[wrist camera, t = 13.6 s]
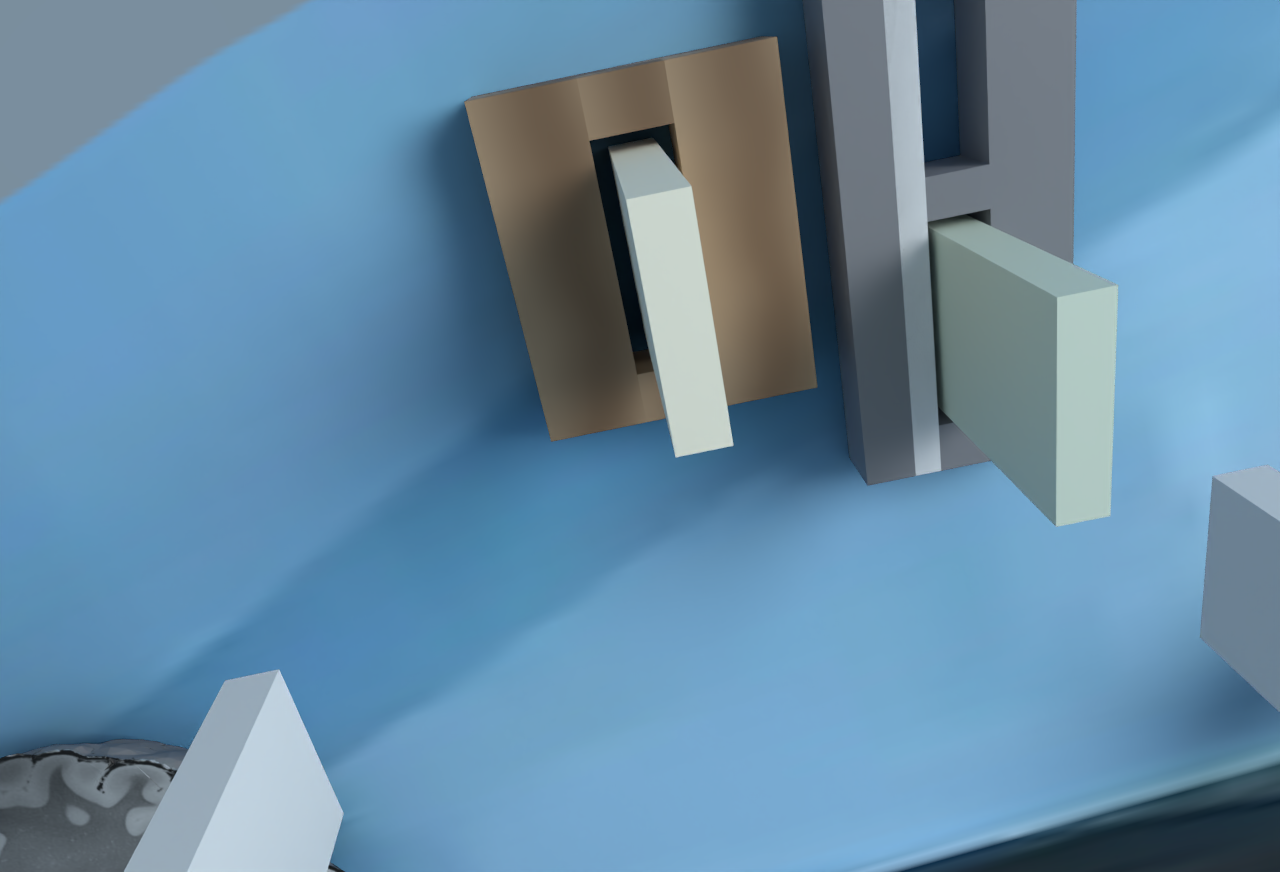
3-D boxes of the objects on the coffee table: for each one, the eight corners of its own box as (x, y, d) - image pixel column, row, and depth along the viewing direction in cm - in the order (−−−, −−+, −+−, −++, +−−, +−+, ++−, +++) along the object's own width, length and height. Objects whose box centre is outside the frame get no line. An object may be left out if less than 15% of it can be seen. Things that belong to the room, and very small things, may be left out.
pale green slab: (644, 334, 34) (675, 457, 24) (608, 146, 32) (625, 199, 22) (685, 325, 34) (733, 445, 24) (652, 137, 32) (691, 185, 22)
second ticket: (922, 390, 36) (1055, 526, 26) (911, 217, 33) (1057, 297, 23) (960, 382, 36) (1110, 516, 26) (953, 208, 33) (1118, 285, 23)
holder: (552, 415, 36) (551, 441, 33) (472, 96, 31) (464, 101, 28) (801, 364, 35) (817, 387, 33) (761, 36, 30) (777, 36, 28)
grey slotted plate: (849, 457, 37) (867, 485, 35) (789, -126, 29) (808, -140, 26) (1040, 419, 37) (1070, 444, 35) (1037, -179, 28) (1078, -197, 26)
